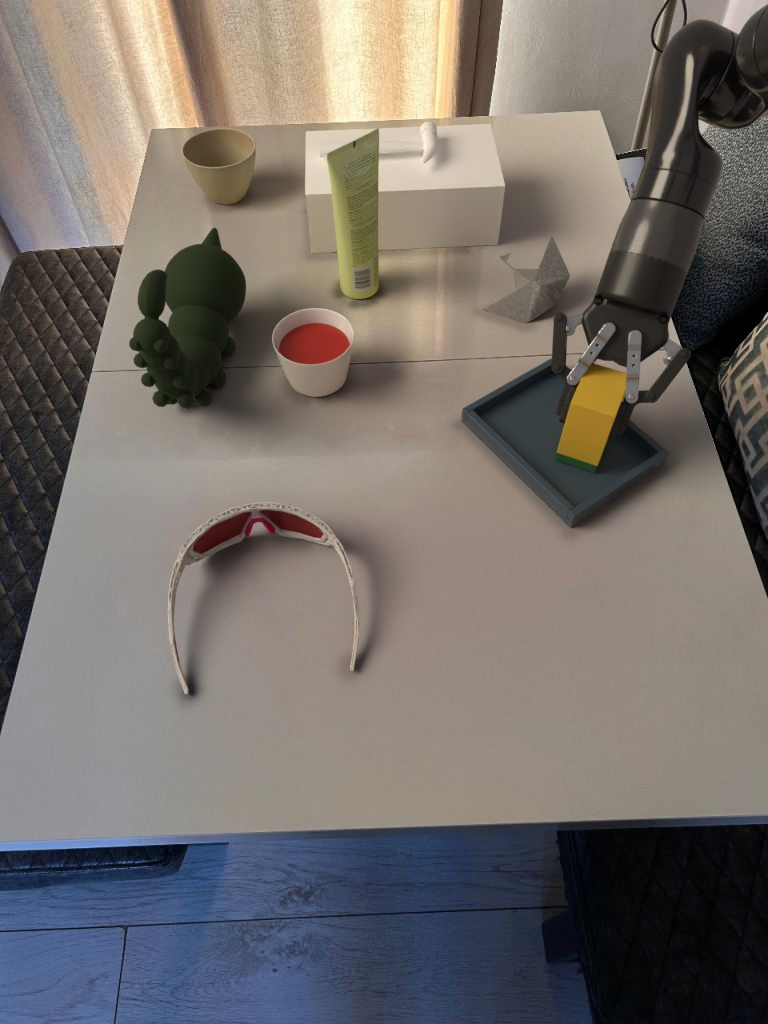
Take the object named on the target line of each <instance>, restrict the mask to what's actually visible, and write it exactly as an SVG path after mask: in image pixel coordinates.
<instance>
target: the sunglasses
mask: <svg viewBox="0 0 768 1024" xmlns="http://www.w3.org/2000/svg"><path fill="white" fill-rule="evenodd" d="M256 523H261V524H262V525H263V526H264V528H265V529H266V530H267V531H268V532H269V534H270V535H274V534H276V533H277V534H278V535H279V536H281V537H284V538H285V537H287V538H292V539H301V540H305V541H309V542H312V543H315V544H319V545H324V546H329V547H333V549H334V550H335V551H336V552H337V554H338V556H339V557H340V559H341V561H342V563H343V565H344V568H345V571H346V574H347V578H348V581H349V585H350V590H351V595H352V596H351V597H352V604H353V643H352V644H353V645H352V651H351V657H350V666H349V669H350V671H351V672H355V666H356V660H357V655H358V646H359V640H360V639H359V638H360V610H359V601H358V594H357V589H356V581H355V578H354V573H353V570H352V567H351V563H350V560H349V557H348V555H347V553H346V550H345V548H344V546H343V544H342V543H341V541H340V540H339V538H338V536H337V534H336V533H335V532H334V531H333V529H332V528H331V527H330V526H329V524H327V522H325V521H324V520H322V519H321V518H320V517H318V516H317V515H315V514H313V513H311V512H309V511H306V510H305V509H302V508H300V507H298V506H295V505H291V504H286V503H282V502H275V501H261V502H250V503H246V504H241V505H236V506H233V507H229V508H228V509H226V510H224V511H221V512H219V513H218V514H216V515H213V516H212V517H211V518H209V519H208V520H206V521H205V522H204V523H202V524H201V525H199V526H198V527H197V528H196V529H195V530H194V531H193V532H192V533H191V534H190V535H189V536H188V538H187V539H186V540H185V541H184V544H182V546H181V548H180V550H179V552H178V555H177V558H176V560H175V561H174V564H173V567H172V571H171V575H170V580H169V585H168V589H167V590H168V594H167V623H168V639H169V644H170V648H171V654H172V659H173V665H174V667H175V670H176V673H177V677H178V680H179V682H180V684H181V687H182V690H183V693H184V695H189V692H190V691H189V686H188V685H189V684H188V682H187V680H186V677H185V675H184V672H183V670H182V665H181V662H180V656H179V652H178V647H177V641H176V632H175V609H176V608H175V607H176V597H177V590H178V586H179V583H180V579H181V576H182V575H183V572H184V570H185V568H186V566H190V565H191V564H195V563H198V562H200V561H202V560H204V559H206V558H208V557H209V556H212V555H213V554H215V553H217V552H219V551H221V550H224V549H227V548H228V547H230V546H233V545H235V544H238V543H240V542H242V541H244V539H245V538H249V537H250V536H251V533H252V530H253V527H254V524H256Z"/></svg>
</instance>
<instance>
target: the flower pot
mask: <svg viewBox="0 0 768 1024" xmlns="http://www.w3.org/2000/svg"><path fill="white" fill-rule="evenodd" d="M256 146H257V145H256V141H255V139H254V138H253V137H252V136H251V135H250V134H249V133H247V132H245V131H243V130H240V129H237V128H233V127H232V128H231V127H217V128H209V129H205V130H202V131H199V132H197V133H194V134H193V135H191V136H190V137H189V138H187V139H186V140H185V141H184V143H183V144H182V146H181V156H182V158H183V161H184V163H185V166H186V167H187V170H188V172H189V175H191V177H192V179H193V180H194V182H195V183H196V185H197V186H198V187H199V188H200V190H201V191H202V192H203V194H205V195H206V196H207V197H208V198H209V199H210V200H211V201H212V202H213V203H215V204H218V205H222V206H223V205H224V206H226V205H227V206H228V205H233V204H236V203H238V202H240V201H241V200H243V199H244V197H245V196H246V194H247V192H248V190H249V187H250V184H251V182H252V179H253V175H254V171H255V165H256V155H257V154H256V153H257V152H256V149H257V148H256Z"/></svg>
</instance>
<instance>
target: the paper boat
mask: <svg viewBox="0 0 768 1024" xmlns="http://www.w3.org/2000/svg"><path fill="white" fill-rule="evenodd" d="M511 254H512V252H508V253H505V254H502V255H500V256H498V257H499V259H501V261H503V262H504V263H505V264H506V265H508V266H509V267H510V269H512V270H513V277H514V288H515V291H513V292H511V293H510V294H508V295H506V296H505V297H503V298H501V299H499V300H498V301H496V302H494V303H492V304H491V305H488V306H487V307H485V308H484V309H483V311H486V312H489V313H492V314H496V315H499V316H502V317H505V318H508V319H512V320H515V321H518V322H521V323H525V324H527V323H529V322H531V321H533V320H535V319H536V318H538V317H540V316H541V315H542V314H544V313H545V312H547V311H548V310H549V309H551V308H552V307H553V306H555V305H556V303H557V301H558V300H559V299H560V296H561V295H562V293H563V292H564V290H565V288H566V286H567V284H568V282H569V280H570V277H571V274H570V271H569V269H568V267H567V265H566V263H565V260H564V258H563V256H562V254H561V252H560V250H559V246H558V245H557V243H556V240H555V239H554V236H553V234H551V235H550V238H549V240H548V242H547V246H546V248H545V251H544V253H543V256H542V259H541V261H540V264H539V266H538V268H514V267H513V266H512V265H511V264H510V263H508V262H507V261H508V259H509V257H510V255H511Z"/></svg>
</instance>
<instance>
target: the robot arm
mask: <svg viewBox="0 0 768 1024" xmlns="http://www.w3.org/2000/svg"><path fill="white" fill-rule="evenodd" d="M767 113H768V3H767V4H766V5H764V6H762V7H761V8H759V9H758V10H756V12H754V13H753V14H752V15H751V16H750V17H749V18H748V19H747V21H745V23H744V24H743V26H742V28H741V29H740V32H739V33H738V32H735V31H733V30H732V29H729V28H727V27H725V26H723V25H721V24H720V23H718V22H716V21H714V20H709V19H704V18H703V19H702V18H700V19H696V20H692V21H690V22H687V23H686V24H685V25H684V26H682V27H680V29H679V30H677V31H676V32H675V33H674V34H673V36H672V37H671V38H670V40H669V41H668V42H667V44H666V46H665V47H664V48H663V51H662V52H661V55H660V57H659V60H658V63H657V66H656V69H655V73H654V79H653V85H652V93H651V104H650V118H649V127H648V135H647V143H646V153H645V159H644V162H643V165H642V167H641V171H640V173H639V176H638V179H637V182H636V185H635V188H634V191H633V193H632V196H631V198H630V202H629V204H628V207H627V209H626V210H625V213H624V215H623V217H622V218H621V221H620V223H619V225H618V228H617V231H616V233H615V236H614V239H613V241H612V244H611V247H610V251H609V253H608V256H607V259H606V262H605V265H604V268H603V270H602V273H601V277H600V279H599V282H598V285H597V288H596V290H595V293H594V296H593V298H592V301H591V303H590V304H589V306H588V307H587V308H586V309H585V310H584V311H583V312H582V313H565V312H563V311H558V312H556V313H555V314H554V316H553V323H552V324H553V325H552V345H551V358H552V367H551V368H552V371H553V372H554V373H556V374H557V375H558V376H559V377H561V378H562V379H563V380H564V388H563V391H562V394H561V397H560V400H559V402H558V405H557V408H556V415H559V416H561V417H560V420H559V422H561V423H564V424H565V421H566V418H567V414H568V411H569V407H570V404H571V401H572V399H573V396H574V394H575V392H576V389H577V387H578V385H579V382H580V380H581V378H582V376H583V375H584V374H585V373H586V371H587V370H588V369H589V367H591V365H592V364H593V363H594V364H596V361H597V360H601V361H603V362H613V363H615V364H616V365H618V366H621V367H623V368H626V373H627V374H626V392H625V394H624V397H623V400H622V402H621V404H620V407H619V410H618V412H617V415H616V418H615V420H614V423H613V426H612V429H611V431H610V434H609V437H608V438H610V439H613V440H614V439H615V436H616V434H618V435H622V434H623V433H624V432H625V430H626V427H627V425H628V422H629V419H630V420H631V416H632V415H633V412H634V409H635V407H636V406H638V405H639V404H646V403H647V404H648V403H649V404H653V403H656V402H657V401H658V400H659V399H660V398H661V396H662V395H663V394H664V393H665V391H666V390H667V389H668V387H669V386H670V385H671V383H672V382H673V381H674V380H675V378H677V376H678V374H679V373H680V372H681V371H682V369H683V368H684V366H685V365H686V364H687V363H688V361H689V359H690V358H691V357H692V351H691V350H690V349H689V348H687V347H682V346H681V345H679V344H678V343H677V342H675V341H673V340H672V339H670V332H669V325H670V321H671V318H672V316H673V312H674V310H675V308H676V305H677V303H678V300H679V297H680V295H681V292H682V289H683V288H684V287H683V286H684V284H685V281H686V278H687V276H688V273H689V270H690V269H691V267H692V265H693V263H694V258H695V255H696V252H697V249H698V246H699V242H700V238H701V234H702V230H703V226H704V223H705V220H706V217H707V215H708V212H709V209H710V207H711V204H712V201H713V198H714V196H715V194H716V191H717V188H718V186H719V183H720V180H721V177H722V174H723V170H724V160H723V157H722V156H721V154H720V153H719V152H718V150H717V149H716V148H714V147H713V146H712V145H711V144H710V143H709V142H708V141H707V140H706V139H705V137H704V136H703V135H702V133H701V130H700V125H699V124H700V123H699V121H702V122H703V123H705V124H707V125H710V126H711V127H714V128H716V129H720V130H726V131H734V130H741V129H746V128H748V127H750V126H752V125H753V124H755V123H757V122H758V121H759V120H760V119H761V118H762V117H764V116H765V115H766V114H767ZM580 325H582V326H581V327H582V328H583V332H584V335H585V339H586V342H587V345H588V347H586V349H585V351H584V352H583V354H581V356H580V357H579V359H578V361H577V362H576V363H575V365H574V367H572V368H570V367H568V366H567V350H568V337H572V336H573V335H574V334H575V333H576V329H577V327H578V326H580ZM662 348H663V349H664V356H663V359H662V361H663V364H664V365H666V367H665V368H664V369H663V371H662V372H661V374H659V376H658V377H657V379H656V380H655V381H654V383H652V386H651V387H650V388H649V389H645V390H640V376H641V375H640V374H641V363H642V362H644V361H645V360H646V359H648V358H649V357H651V356H652V355H654V354H655V353H656V352H658V351H659V350H661V349H662Z"/></svg>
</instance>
